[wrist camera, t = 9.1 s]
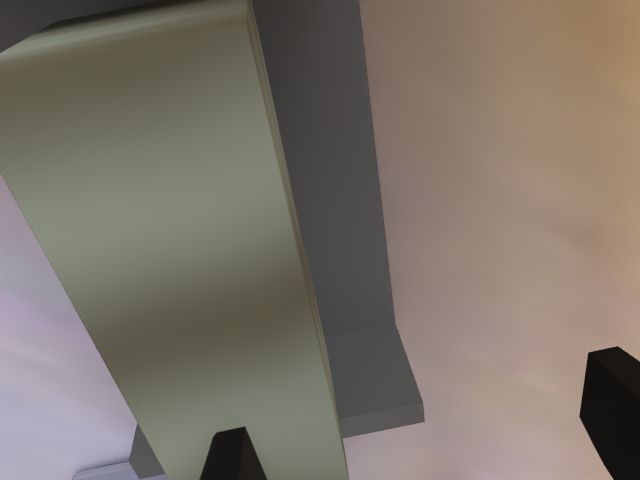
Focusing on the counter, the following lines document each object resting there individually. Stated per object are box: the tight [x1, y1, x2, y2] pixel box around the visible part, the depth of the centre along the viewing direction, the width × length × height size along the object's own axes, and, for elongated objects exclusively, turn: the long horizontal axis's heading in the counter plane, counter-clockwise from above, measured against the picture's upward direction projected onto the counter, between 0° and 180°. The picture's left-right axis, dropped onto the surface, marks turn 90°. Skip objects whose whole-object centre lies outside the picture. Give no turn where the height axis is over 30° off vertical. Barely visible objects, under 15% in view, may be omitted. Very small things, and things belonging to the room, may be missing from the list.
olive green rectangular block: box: [0, 0, 349, 480], centre depth 13 cm, size 12×4×5 cm, turn 9°
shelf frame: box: [0, 0, 425, 479], centre depth 16 cm, size 17×10×5 cm, turn 9°
